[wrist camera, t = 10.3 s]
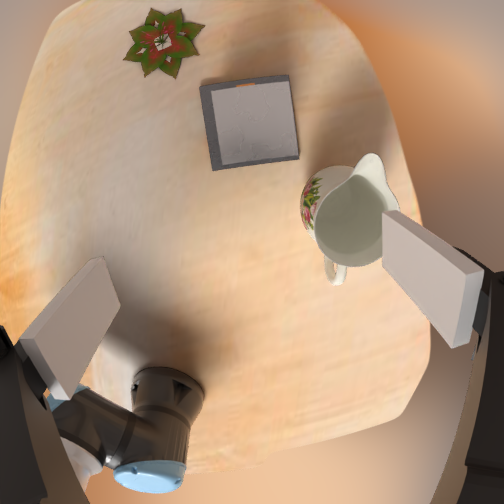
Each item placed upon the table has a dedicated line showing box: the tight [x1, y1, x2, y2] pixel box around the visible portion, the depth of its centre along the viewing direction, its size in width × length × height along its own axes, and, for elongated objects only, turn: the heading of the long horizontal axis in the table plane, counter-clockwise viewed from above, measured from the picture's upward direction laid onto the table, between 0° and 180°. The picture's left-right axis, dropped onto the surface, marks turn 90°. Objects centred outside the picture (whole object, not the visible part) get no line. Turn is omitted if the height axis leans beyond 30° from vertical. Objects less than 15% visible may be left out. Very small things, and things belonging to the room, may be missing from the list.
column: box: [211, 81, 298, 165], centre depth 26 cm, size 5×5×18 cm
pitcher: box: [300, 153, 400, 285], centre depth 40 cm, size 11×18×14 cm, turn 175°
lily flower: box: [123, 8, 205, 79], centre depth 35 cm, size 12×12×5 cm
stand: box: [199, 75, 299, 171], centre depth 37 cm, size 12×12×10 cm
